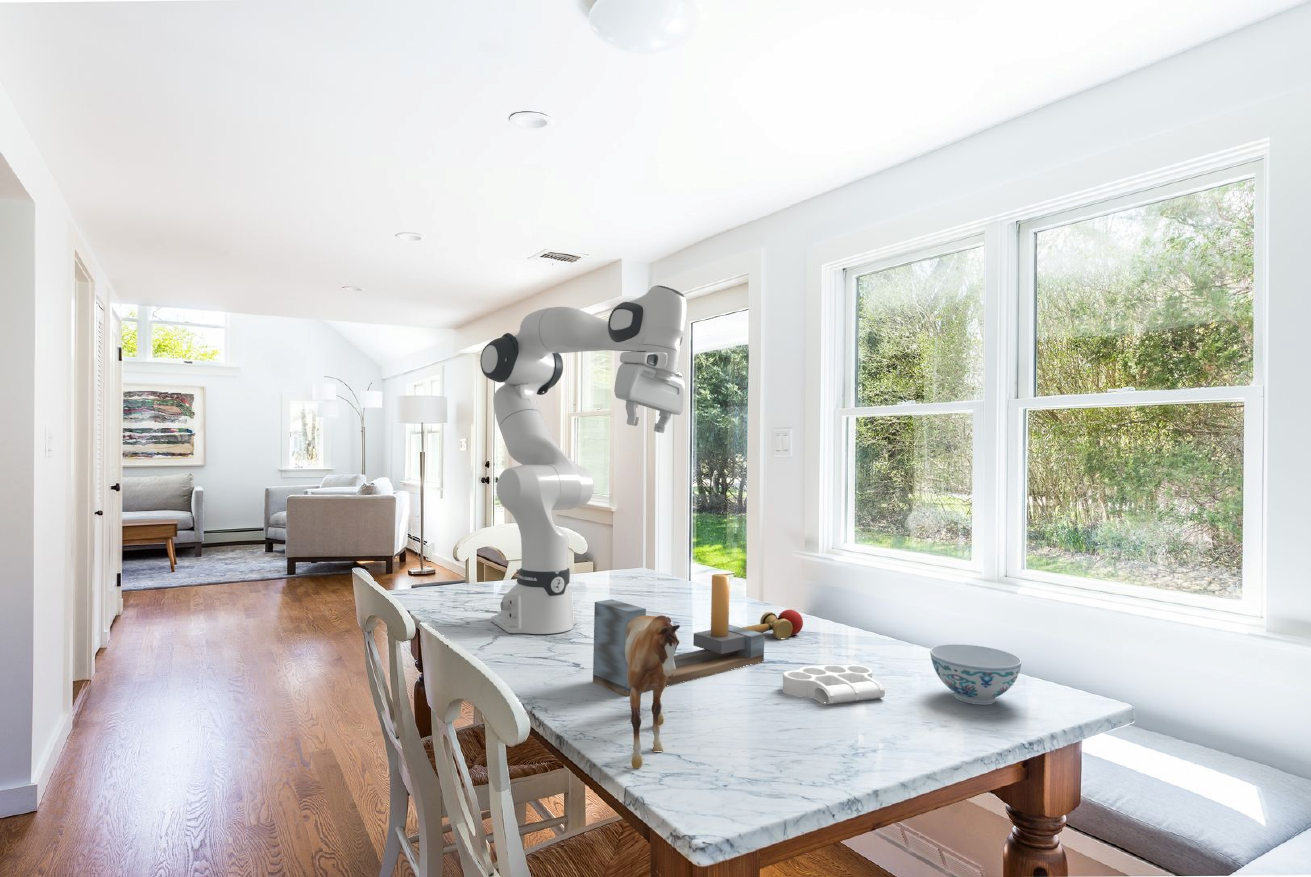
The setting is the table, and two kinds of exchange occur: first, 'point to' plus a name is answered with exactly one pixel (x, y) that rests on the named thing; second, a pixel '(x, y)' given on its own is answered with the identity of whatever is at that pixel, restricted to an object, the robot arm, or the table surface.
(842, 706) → the table surface
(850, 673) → the white brass knuckles
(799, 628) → the kendama
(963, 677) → the chinaware
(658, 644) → the horse figurine
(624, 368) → the robot arm
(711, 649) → the carriage
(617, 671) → the walnut rail
